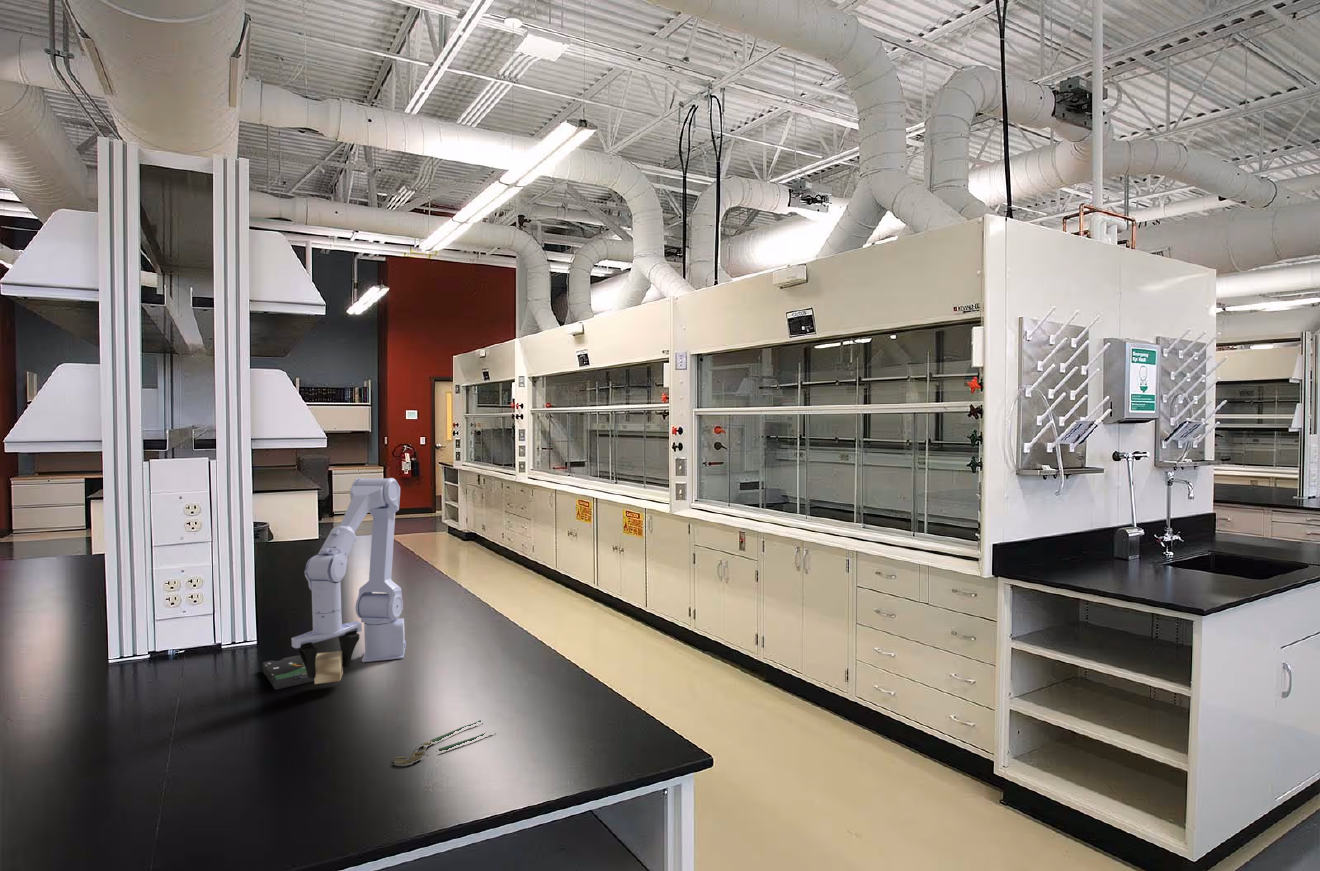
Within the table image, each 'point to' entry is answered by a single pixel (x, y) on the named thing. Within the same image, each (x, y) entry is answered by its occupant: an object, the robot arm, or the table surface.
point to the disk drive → (286, 672)
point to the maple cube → (328, 667)
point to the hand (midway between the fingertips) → (328, 671)
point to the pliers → (419, 754)
